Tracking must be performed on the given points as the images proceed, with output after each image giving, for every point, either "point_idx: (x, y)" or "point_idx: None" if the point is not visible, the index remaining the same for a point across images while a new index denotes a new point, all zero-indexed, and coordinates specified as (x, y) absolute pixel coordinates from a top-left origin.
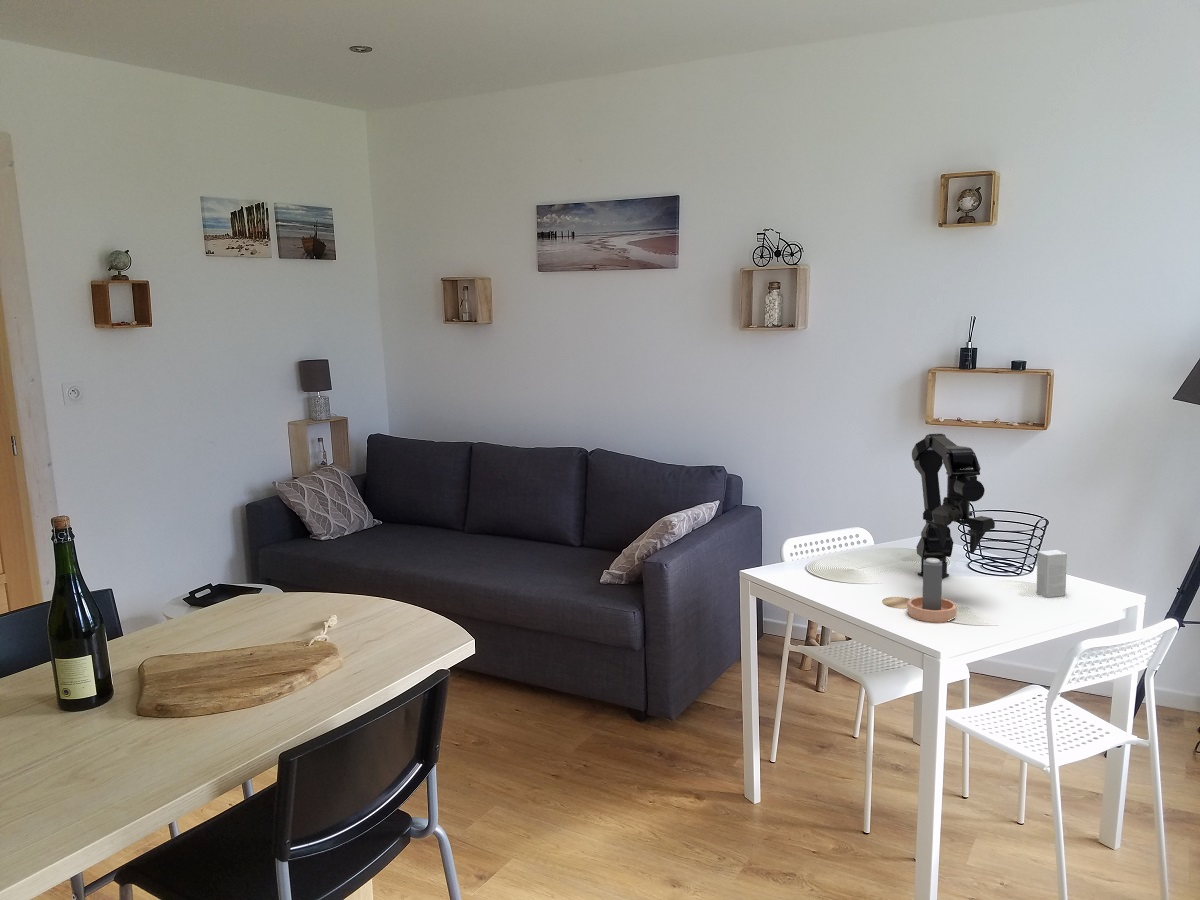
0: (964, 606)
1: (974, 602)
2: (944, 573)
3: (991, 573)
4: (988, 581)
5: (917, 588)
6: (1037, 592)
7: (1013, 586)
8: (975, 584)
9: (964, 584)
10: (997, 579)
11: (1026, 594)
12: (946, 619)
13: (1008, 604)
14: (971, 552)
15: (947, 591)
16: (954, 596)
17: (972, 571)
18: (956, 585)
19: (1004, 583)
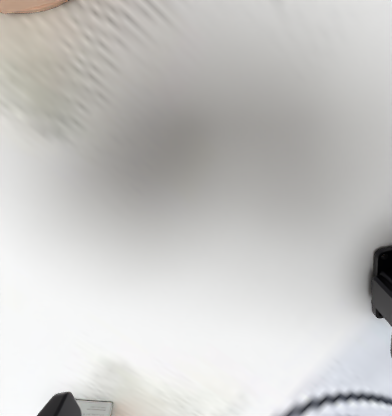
0: (70, 133)
1: (101, 202)
2: (377, 298)
3: (310, 412)
4: (261, 369)
5: (351, 118)
6: (106, 405)
7: (190, 392)
8: (260, 326)
9: (280, 300)
10: (261, 396)
11: (114, 379)
12: None
13: (44, 285)
14: (50, 401)
15: (253, 202)
16: (193, 184)
17: (356, 387)
18: (287, 272)
19: (223, 390)
